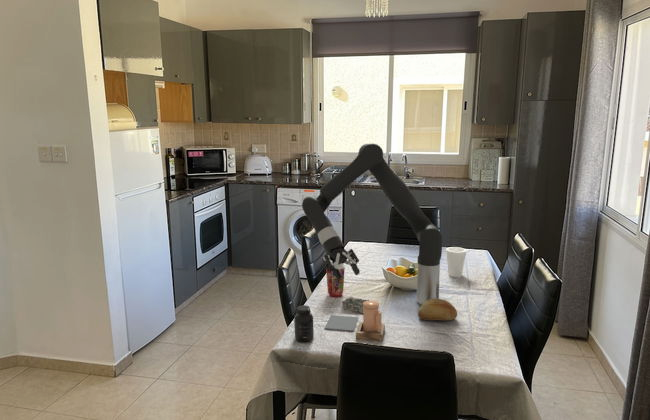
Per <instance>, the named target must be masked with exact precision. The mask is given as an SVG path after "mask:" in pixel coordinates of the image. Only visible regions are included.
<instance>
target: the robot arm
mask: <svg viewBox="0 0 650 420" xmlns="http://www.w3.org/2000/svg"><path fill="white" fill-rule="evenodd" d="M390 167H391V166H389V164H388V163H387V162H386V159H385V158H384V150H383V148H382V147H381V146H380V145H379V144H376V143H373V142H370V143H369V142H368V143H364V144H362V145H361V146H360V148H359V150H358V153H357V156H356V157H355V159H353V161H352V162H350V164H348V165H347V166H346V167H345V168H344V169H342V170H340V171H339V172H338V173H337V174H335V175H334V176H333V177H332V178H330V179H329V180H328V181H327V182H326V183H324V185H322V187H321V188H320V190H319V195H318V196H317V197H315V196H306V197H305V198H304V199H303V200H302V203H301V204H302V205H301V207H302V211H303V212H304V214H305V216H306V218H307V219H308V221H309V222H310V223H311V225H312V227H313V230H314V231H315V233H316V235H317V237H318V240H319V243H320V244H321V245H322V248H323V251H324V252H325V254H324V256H323V257H322V262H323V264H324V266H325V270H326V269H327V271H332V272H334V274H335V276H336V278H337V279H338V280H341V278H342V275H341V273H340V271H339V269H337V267H338V265H339V264H344V265H345V264H346V265H348V266H350V267H351V270H352V271H353V273H354V275H355V276H358V275H359V274H360V272H361V270H360V269H359V267H358V265H357V264H358V263H359V262H360V259H359V258H358V256H357V255H356V253H355V251H354V250H353V249H352V248H350V249H348V250H346V249H345V244H344V243H343V241H342V239H341V237H340V236H339V234H338V232H337V230H336V229H335V227H334V226H333V224H332V222H331V220H330V218H329V217H328V216H327V215H326V214H325V212H326V211H327V210H328V208H329V207H330V205H331V204H332V202H333V201H334V200H335V199H337V197H339V196H340V195H341V194H342V193H343V192H344V191H345V190H346V189H347V188H348V187H350V185H352V184H353V183H354V182H355V181H356V180H357V179H359V177H361V176H362V175H363V174H365V173H366V172H368V171H369V173H370V174H371V175H372V176H373V177H374V179H375V180H376V181H377V184H378V185H379V186H380V188H381V190H382V191H383V193H384V195H385V196H386V198H387V199H388V200H389V202H390V204H392V205H391V206H393V207H394V209H395V210H396V211H397V212H398V214H400V215H401V216H402V217H403V218H404V220H406V221H407V223H408V224H409V225H410V227H411V229H412V230H413V232H414V234H415V236H416V238H417V240H418V241H419V245H418V246H419V249H418V250H419V251H418V256H417V269H416V270H417V272H416V274H417V275H416V302H417V303H418V304H420V305H422V304H423V303H424V302H426V301H427V300H430V299H440V273H441V272H440V271H441V270H440V269H441V268H440V267H441V259H442V254H443V251H442V250H443V235H442V233H441V231H440V230H439V228H437V226H436V225H434V224H433V222H431V220H430V219H429V218H428V217H427V216H426V214H424V212H423V210H422V209H421V207H420V205H419V203H418V201H417V199H416V197H415V196H414V194H413V192H412V191H411V190H410V188H409V187H408V186H407V184H406V183H405V182H404V181H403V180H402V178H401V177H400V176H399V175H398V174H396V172H395V171H393V169H391V168H390ZM330 260H331V261H332V264H331V262H330Z"/></svg>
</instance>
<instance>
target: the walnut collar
mask: <svg viewBox="0 0 650 420" xmlns="http://www.w3.org/2000/svg"><path fill="white" fill-rule="evenodd" d="M385 330H386V324H385V323H382V322H381V331H379V332H378V333H372V332H363V321H359V323H358V326H357V327H356V331H355V339H356V340H362V341H363V340H364V341H370V342H371V341H374V342H383V340H384V334H385Z"/></svg>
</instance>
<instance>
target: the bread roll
mask: <svg viewBox="0 0 650 420" xmlns="http://www.w3.org/2000/svg"><path fill="white" fill-rule="evenodd" d="M417 315H418V317H419V318H420V319H421V320H423V321H424V320H425V321H453V320H455V319H456V318H457V317H458V312H457V308H456V307H455V306H454V305H453V304H452V303H450V301H447V300H446V299H442V298H439V299H430V300H427V301H426V302H424V303H423V304H421V306H420V308H418V312H417Z"/></svg>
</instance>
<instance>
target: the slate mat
mask: <svg viewBox="0 0 650 420" xmlns="http://www.w3.org/2000/svg"><path fill="white" fill-rule="evenodd" d="M358 321H359V316H349V315H336V314H331V315H330V317H329V318H328V321H327V322H326V324H325V326H324V330H329V331H340V332H350V333H351V332H353V333H354V331H355V329H356V327H357V323H358Z"/></svg>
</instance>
